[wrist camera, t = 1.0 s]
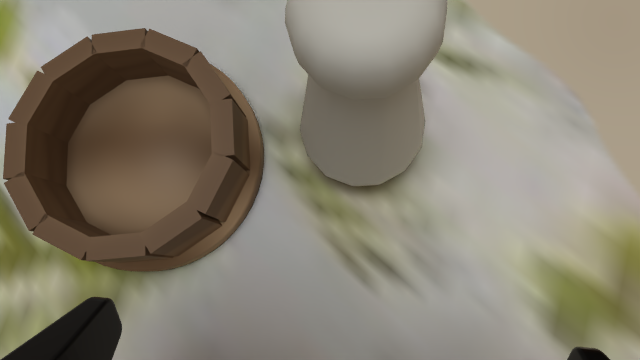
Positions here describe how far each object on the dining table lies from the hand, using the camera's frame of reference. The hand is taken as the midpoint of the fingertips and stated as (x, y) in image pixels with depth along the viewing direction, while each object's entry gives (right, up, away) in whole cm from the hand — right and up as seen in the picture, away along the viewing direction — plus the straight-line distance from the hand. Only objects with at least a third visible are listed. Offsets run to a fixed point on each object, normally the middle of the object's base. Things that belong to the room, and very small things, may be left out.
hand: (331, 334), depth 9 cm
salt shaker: (+2, +5, +15) cm, 16 cm away
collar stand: (-9, +4, +16) cm, 18 cm away
